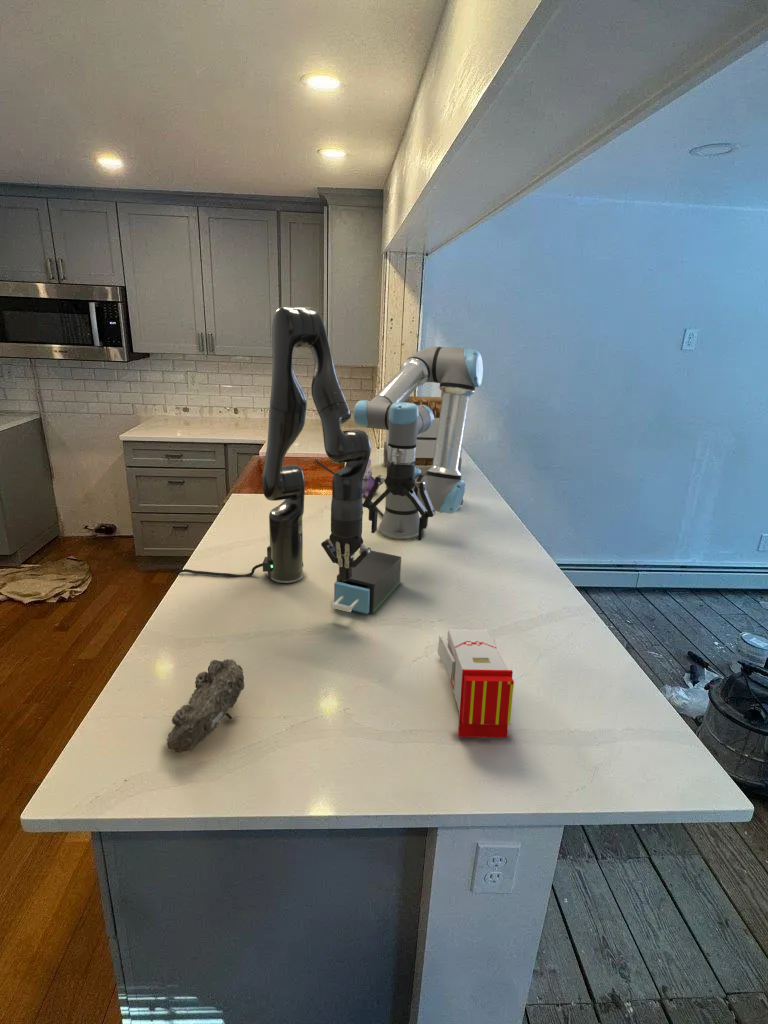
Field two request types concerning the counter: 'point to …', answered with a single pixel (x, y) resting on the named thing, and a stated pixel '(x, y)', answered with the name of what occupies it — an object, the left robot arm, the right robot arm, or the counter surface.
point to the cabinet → (377, 576)
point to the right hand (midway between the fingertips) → (397, 535)
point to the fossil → (206, 705)
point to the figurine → (367, 480)
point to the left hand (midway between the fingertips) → (345, 579)
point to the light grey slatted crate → (424, 433)
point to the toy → (478, 682)
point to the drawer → (351, 597)
